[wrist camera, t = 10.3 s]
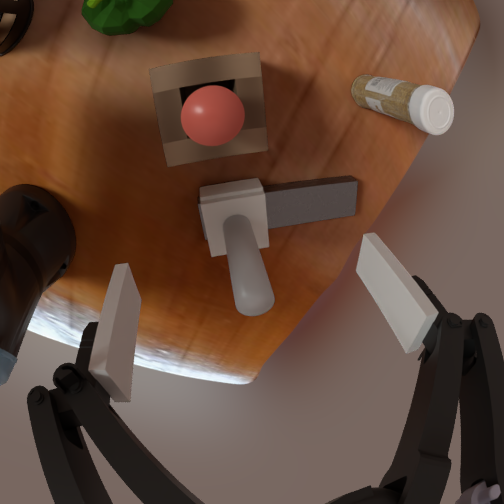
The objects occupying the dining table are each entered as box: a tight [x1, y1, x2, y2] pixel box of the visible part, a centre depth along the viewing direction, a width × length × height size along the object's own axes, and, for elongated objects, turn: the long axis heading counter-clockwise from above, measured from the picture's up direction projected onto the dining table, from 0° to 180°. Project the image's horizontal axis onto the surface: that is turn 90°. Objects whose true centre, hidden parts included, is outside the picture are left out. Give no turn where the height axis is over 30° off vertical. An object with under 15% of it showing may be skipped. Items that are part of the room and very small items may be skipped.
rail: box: [198, 176, 358, 240], centre depth 36 cm, size 20×5×2 cm, turn 95°
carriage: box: [200, 178, 275, 316], centre depth 30 cm, size 7×8×16 cm
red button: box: [181, 85, 245, 146], centre depth 22 cm, size 4×4×8 cm
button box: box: [149, 52, 268, 167], centre depth 25 cm, size 9×9×8 cm
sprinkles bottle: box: [351, 74, 454, 135], centre depth 25 cm, size 5×5×13 cm
